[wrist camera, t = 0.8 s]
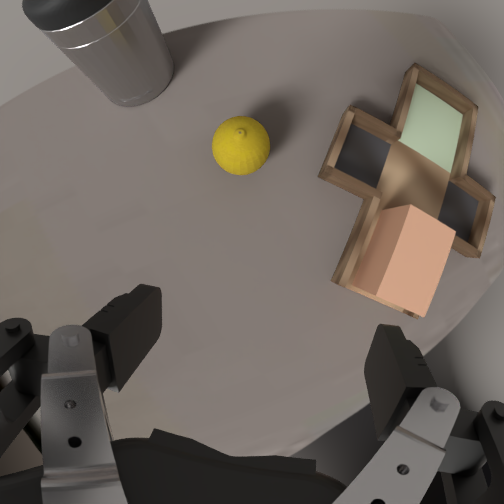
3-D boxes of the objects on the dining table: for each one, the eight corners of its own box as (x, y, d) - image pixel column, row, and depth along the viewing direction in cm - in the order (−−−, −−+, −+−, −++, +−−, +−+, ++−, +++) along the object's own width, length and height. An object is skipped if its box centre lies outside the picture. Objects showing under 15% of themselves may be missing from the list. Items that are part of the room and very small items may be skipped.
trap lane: (438, 328, 35) (451, 334, 32) (282, 260, 34) (285, 262, 31) (493, 135, 34) (505, 130, 31) (366, 51, 33) (373, 40, 30)
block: (394, 304, 34) (424, 317, 27) (351, 285, 34) (375, 295, 27) (422, 232, 34) (455, 231, 27) (381, 210, 33) (410, 204, 26)
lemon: (275, 145, 33) (283, 119, 25) (253, 190, 34) (255, 175, 26) (230, 125, 33) (225, 94, 25) (207, 168, 33) (195, 147, 25)
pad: (448, 173, 34) (450, 173, 33) (392, 138, 34) (393, 137, 33) (461, 115, 33) (462, 114, 33) (408, 80, 33) (410, 79, 33)
